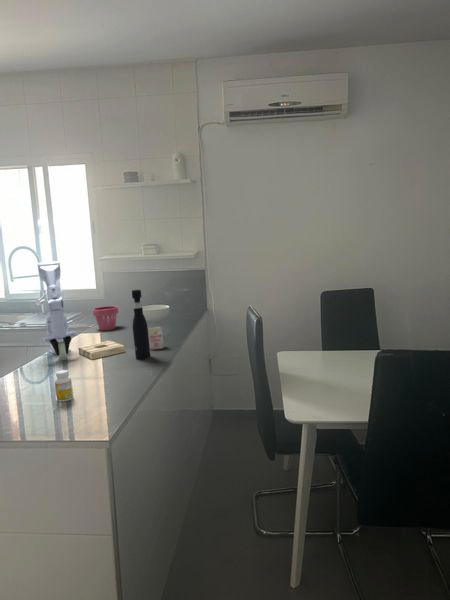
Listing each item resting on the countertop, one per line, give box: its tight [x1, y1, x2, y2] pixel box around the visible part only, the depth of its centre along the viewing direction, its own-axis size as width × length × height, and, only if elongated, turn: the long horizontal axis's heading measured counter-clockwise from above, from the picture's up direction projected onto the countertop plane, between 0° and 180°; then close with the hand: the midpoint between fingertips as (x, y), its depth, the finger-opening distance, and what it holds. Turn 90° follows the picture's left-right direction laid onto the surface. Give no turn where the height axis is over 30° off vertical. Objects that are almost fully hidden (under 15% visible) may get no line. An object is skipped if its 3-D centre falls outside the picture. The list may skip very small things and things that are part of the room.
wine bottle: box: [131, 289, 152, 361], centre depth 204 cm, size 6×6×30 cm
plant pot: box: [92, 305, 119, 331], centre depth 276 cm, size 14×14×13 cm
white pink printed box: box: [148, 326, 165, 351], centre depth 220 cm, size 4×7×10 cm, turn 98°
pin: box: [57, 341, 68, 361], centre depth 213 cm, size 4×4×8 cm
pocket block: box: [77, 340, 125, 360], centre depth 220 cm, size 16×16×3 cm
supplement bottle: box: [54, 369, 74, 403], centre depth 159 cm, size 5×5×10 cm
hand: (62, 354), depth 213 cm, fingers closed on pin, 4 cm apart
